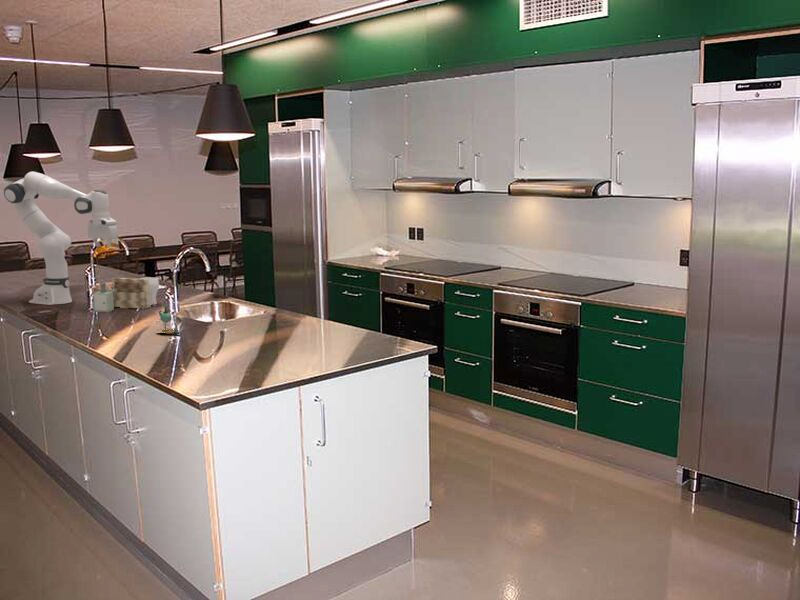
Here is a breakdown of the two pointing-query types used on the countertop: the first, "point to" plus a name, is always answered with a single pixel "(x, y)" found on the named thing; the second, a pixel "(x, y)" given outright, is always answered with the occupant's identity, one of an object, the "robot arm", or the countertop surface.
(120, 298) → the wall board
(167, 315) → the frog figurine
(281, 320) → the countertop surface
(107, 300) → the white square bottle
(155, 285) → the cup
